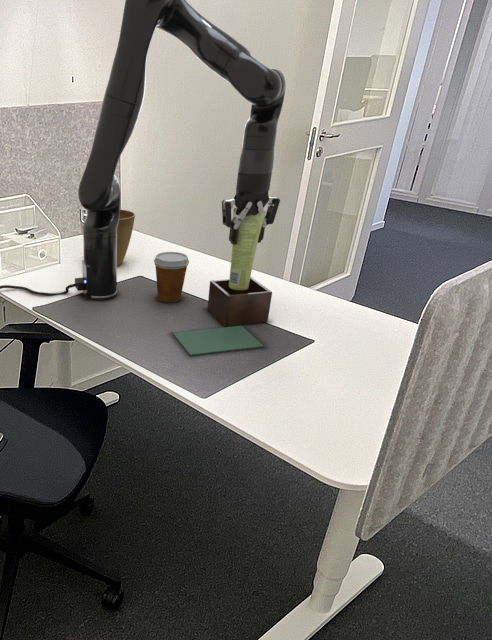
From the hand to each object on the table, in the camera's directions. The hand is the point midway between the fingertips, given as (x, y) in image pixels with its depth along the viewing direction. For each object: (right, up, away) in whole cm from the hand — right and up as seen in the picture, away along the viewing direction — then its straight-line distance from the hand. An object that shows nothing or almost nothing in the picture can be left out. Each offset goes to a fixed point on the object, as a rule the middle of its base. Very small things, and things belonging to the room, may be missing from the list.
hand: (245, 242), depth 139 cm
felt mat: (-8, -24, -3) cm, 26 cm away
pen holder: (0, -16, +10) cm, 19 cm away
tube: (0, -10, +6) cm, 12 cm away
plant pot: (-30, +7, +49) cm, 58 cm away
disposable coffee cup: (-15, -10, +21) cm, 28 cm away
